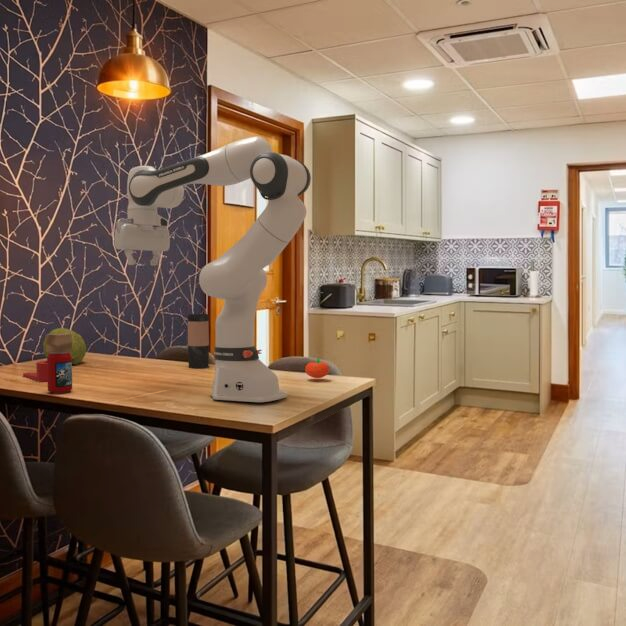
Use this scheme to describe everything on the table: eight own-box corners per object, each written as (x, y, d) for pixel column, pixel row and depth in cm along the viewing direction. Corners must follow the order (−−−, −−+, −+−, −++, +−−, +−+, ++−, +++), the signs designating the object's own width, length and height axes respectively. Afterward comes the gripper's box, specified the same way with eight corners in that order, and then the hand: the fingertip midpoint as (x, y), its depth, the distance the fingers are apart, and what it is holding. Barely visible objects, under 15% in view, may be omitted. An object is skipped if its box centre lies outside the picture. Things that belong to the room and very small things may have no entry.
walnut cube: (72, 350, 197) (71, 333, 197) (57, 352, 193) (57, 335, 193) (60, 350, 200) (60, 333, 200) (46, 351, 195) (45, 334, 195)
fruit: (76, 371, 241) (75, 329, 240) (36, 371, 241) (35, 329, 240) (91, 365, 257) (91, 326, 256) (54, 365, 257) (53, 326, 256)
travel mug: (213, 368, 249) (212, 314, 248) (199, 370, 242) (198, 315, 241) (197, 366, 253) (197, 313, 252) (183, 369, 247) (182, 314, 246)
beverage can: (64, 394, 193) (63, 352, 192) (42, 393, 194) (41, 352, 194) (77, 390, 200) (76, 350, 199) (56, 390, 201) (55, 349, 200)
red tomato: (307, 375, 229) (307, 357, 229) (330, 376, 228) (330, 357, 227) (302, 378, 222) (302, 359, 222) (326, 379, 221) (326, 359, 220)
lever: (74, 381, 218) (74, 361, 218) (50, 385, 210) (49, 364, 210) (37, 377, 227) (37, 358, 227) (12, 381, 219) (12, 361, 219)
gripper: (124, 216, 196) (124, 264, 197) (172, 221, 214) (173, 265, 215) (109, 217, 200) (109, 264, 200) (158, 222, 217) (158, 265, 218)
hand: (143, 265), depth 208 cm, fingers open, 8 cm apart
